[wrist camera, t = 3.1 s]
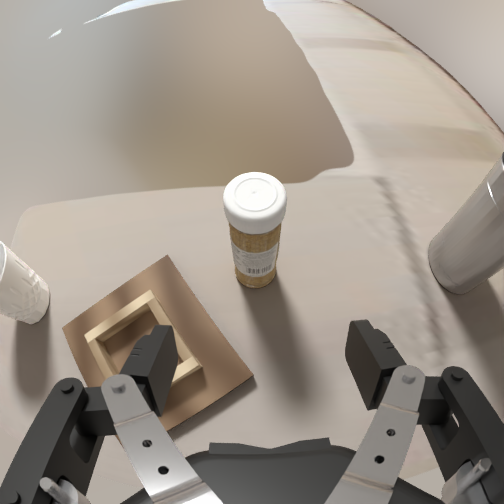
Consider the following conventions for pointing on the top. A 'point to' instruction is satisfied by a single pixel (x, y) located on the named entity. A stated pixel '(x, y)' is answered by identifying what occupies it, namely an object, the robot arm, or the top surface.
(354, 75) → the top surface
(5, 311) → the white cup
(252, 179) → the sprinkles bottle
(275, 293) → the top surface
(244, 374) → the holder board
